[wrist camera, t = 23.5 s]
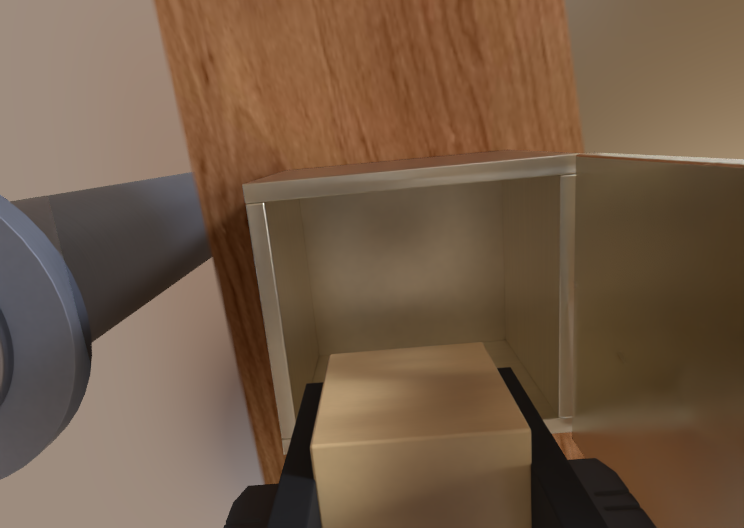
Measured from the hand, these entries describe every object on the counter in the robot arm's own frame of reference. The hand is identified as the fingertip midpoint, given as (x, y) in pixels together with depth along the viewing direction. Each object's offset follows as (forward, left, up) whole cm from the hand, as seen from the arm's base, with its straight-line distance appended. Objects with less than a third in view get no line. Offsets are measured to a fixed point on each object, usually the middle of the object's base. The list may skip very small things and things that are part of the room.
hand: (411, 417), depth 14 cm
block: (0, 0, 0) cm, 0 cm away
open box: (+1, +1, -17) cm, 17 cm away
